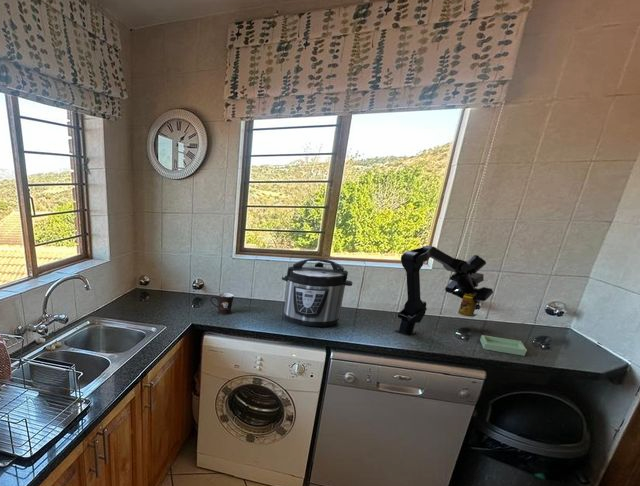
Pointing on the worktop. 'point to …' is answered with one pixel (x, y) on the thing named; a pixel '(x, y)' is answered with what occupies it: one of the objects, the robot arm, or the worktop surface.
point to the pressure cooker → (315, 293)
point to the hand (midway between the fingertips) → (472, 301)
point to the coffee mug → (224, 302)
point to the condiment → (467, 306)
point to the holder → (503, 345)
